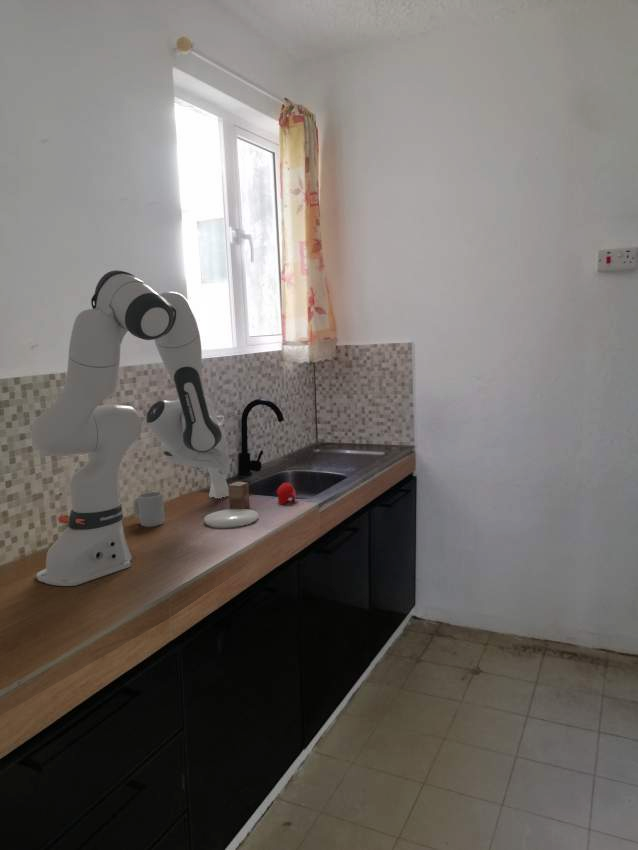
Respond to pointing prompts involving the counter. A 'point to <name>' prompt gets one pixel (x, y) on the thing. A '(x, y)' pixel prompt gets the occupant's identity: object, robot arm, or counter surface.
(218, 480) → the skyscraper
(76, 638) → the counter surface
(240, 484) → the walnut block
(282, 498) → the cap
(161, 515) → the cup
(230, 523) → the plate
